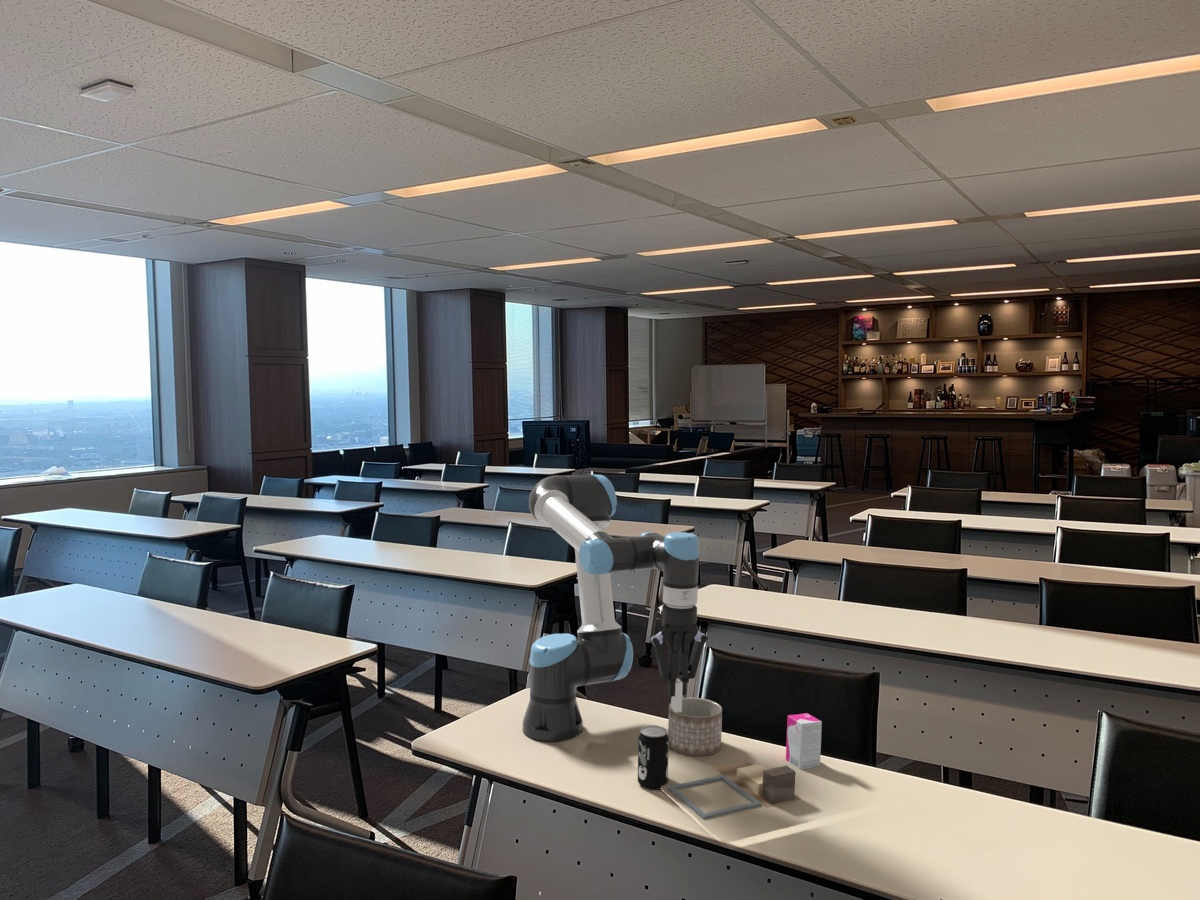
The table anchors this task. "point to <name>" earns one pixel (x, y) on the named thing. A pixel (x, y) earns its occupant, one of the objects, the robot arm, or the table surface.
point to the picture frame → (720, 812)
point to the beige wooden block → (752, 777)
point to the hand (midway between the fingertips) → (676, 709)
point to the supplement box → (803, 741)
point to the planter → (695, 727)
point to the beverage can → (653, 757)
